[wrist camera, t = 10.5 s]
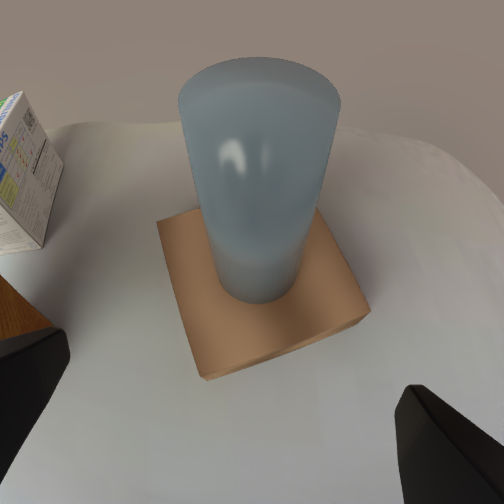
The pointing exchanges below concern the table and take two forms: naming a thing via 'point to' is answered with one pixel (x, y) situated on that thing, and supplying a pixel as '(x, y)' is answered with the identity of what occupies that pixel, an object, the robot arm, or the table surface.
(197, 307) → the walnut base
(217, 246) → the slate canister
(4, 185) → the light bulb box
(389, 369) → the table surface
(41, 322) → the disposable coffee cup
